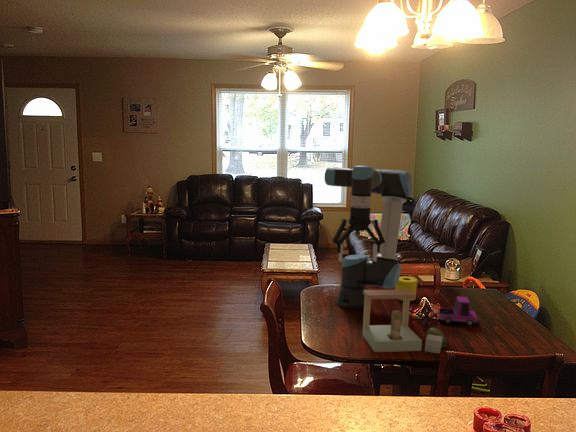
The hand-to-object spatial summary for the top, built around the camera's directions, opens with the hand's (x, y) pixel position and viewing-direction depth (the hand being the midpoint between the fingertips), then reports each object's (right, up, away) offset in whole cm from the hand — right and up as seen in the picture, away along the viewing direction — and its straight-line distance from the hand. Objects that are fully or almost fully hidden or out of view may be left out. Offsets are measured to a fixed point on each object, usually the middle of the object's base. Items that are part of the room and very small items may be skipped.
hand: (357, 261), depth 201 cm
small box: (+28, -33, -5) cm, 44 cm away
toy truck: (+47, -29, +26) cm, 61 cm away
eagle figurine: (+20, -29, +17) cm, 40 cm away
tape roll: (+31, -23, +56) cm, 68 cm away
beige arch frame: (+12, -27, +5) cm, 30 cm away
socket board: (+13, -32, 0) cm, 34 cm away
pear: (+31, -32, +1) cm, 45 cm away
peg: (+14, -32, -4) cm, 35 cm away
